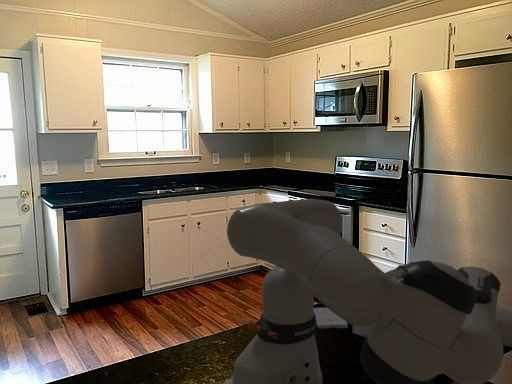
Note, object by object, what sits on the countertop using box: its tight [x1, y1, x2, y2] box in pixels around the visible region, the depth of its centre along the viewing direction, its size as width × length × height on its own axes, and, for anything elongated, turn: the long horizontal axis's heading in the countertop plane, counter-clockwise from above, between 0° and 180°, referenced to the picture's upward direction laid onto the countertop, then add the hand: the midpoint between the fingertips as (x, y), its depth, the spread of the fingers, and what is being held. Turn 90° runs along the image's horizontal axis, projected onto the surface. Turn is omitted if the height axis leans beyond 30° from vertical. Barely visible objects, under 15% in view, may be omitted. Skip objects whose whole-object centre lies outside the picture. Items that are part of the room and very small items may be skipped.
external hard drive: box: [314, 307, 349, 330], centre depth 126 cm, size 2×8×12 cm
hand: (401, 299), depth 122 cm, fingers closed on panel, 5 cm apart
